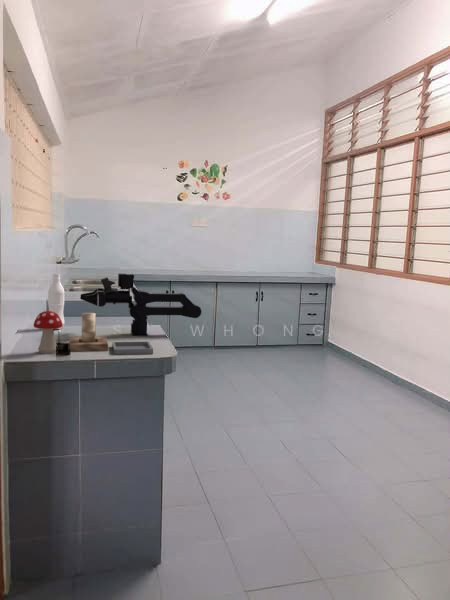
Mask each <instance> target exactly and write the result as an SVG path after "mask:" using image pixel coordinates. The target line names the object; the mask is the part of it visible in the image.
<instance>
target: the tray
mask: <svg viewBox="0 0 450 600" xmlns="http://www.w3.org/2000/svg"><path fill="white" fill-rule="evenodd" d="M111 347H112V351H113V355H118V356H119V355H120V356H121V355H122V356H123V355H154V348H153V346H152V344H151V342H150V341H112V345H111Z"/></svg>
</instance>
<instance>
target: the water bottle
mask: <svg viewBox="0 0 450 600" xmlns="http://www.w3.org/2000/svg"><path fill="white" fill-rule="evenodd" d="M47 298H48V299H47V307H48V311H52V312H55V313H56V314H58V315H59V317H60V319H61V321H62V324H63V326H62V327H60V328H57V329H60V330H62V329H63V328H64V327H65V323H66V322H65V316H64V309H65V308H64V307H65V289H64V286H63V285H62V283H61V274H60V273H52V281H51V284H50V285H49V287H48V291H47ZM57 329H56V330H57Z"/></svg>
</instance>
